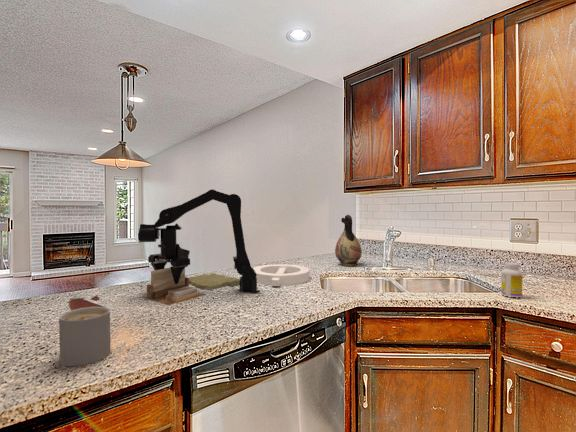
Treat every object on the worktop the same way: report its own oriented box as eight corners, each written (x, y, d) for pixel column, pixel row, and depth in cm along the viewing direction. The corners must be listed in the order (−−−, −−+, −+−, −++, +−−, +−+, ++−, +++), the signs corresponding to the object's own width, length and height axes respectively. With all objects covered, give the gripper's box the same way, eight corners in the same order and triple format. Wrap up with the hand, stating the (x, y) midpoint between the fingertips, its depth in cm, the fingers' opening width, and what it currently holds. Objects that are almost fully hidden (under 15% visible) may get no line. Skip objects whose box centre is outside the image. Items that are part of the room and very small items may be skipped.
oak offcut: (199, 296, 122) (199, 292, 122) (176, 302, 114) (176, 298, 114) (188, 293, 126) (188, 289, 126) (166, 299, 117) (166, 295, 117)
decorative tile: (213, 279, 157) (213, 272, 157) (242, 285, 145) (242, 277, 145) (179, 287, 142) (179, 278, 142) (208, 294, 130) (208, 285, 130)
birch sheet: (185, 290, 130) (184, 265, 130) (153, 298, 119) (152, 271, 118) (183, 290, 131) (183, 265, 130) (151, 298, 119) (150, 271, 119)
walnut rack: (207, 296, 125) (207, 281, 125) (168, 308, 111) (168, 290, 111) (181, 290, 134) (180, 276, 134) (142, 300, 120) (142, 284, 120)
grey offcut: (197, 292, 122) (197, 288, 122) (177, 297, 115) (177, 293, 115) (188, 290, 125) (188, 286, 125) (168, 295, 118) (168, 291, 118)
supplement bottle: (525, 297, 125) (526, 263, 124) (516, 299, 121) (517, 265, 121) (506, 293, 130) (507, 261, 130) (497, 295, 127) (498, 262, 127)
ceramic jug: (332, 262, 200) (332, 214, 199) (356, 262, 201) (356, 214, 201) (339, 268, 183) (339, 215, 182) (366, 267, 185) (366, 214, 184)
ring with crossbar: (274, 289, 137) (274, 278, 137) (240, 278, 159) (240, 268, 159) (321, 280, 155) (321, 270, 154) (285, 271, 176) (285, 262, 176)
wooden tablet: (68, 302, 119) (68, 298, 119) (99, 298, 125) (99, 293, 125) (73, 323, 98) (73, 318, 98) (110, 316, 104) (110, 311, 104)
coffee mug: (105, 362, 72) (104, 318, 72) (52, 369, 69) (51, 322, 69) (117, 339, 85) (116, 301, 85) (73, 344, 82) (72, 304, 82)
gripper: (201, 241, 125) (201, 281, 126) (171, 238, 136) (172, 275, 137) (176, 244, 116) (177, 287, 117) (147, 240, 127) (147, 280, 127)
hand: (169, 282), depth 125 cm, fingers open, 9 cm apart
